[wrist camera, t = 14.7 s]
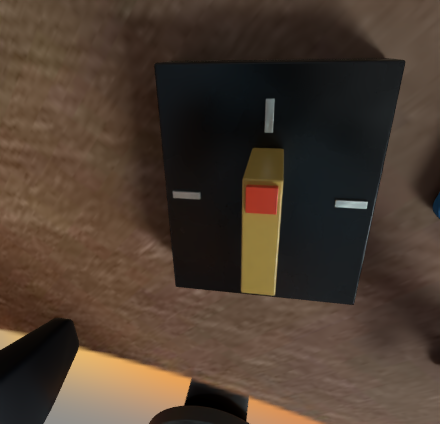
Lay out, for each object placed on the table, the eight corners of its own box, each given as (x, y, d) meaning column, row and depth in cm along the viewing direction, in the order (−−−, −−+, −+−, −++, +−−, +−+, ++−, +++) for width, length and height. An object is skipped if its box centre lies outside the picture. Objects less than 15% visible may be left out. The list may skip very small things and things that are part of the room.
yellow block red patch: (276, 244, 17) (274, 300, 13) (249, 242, 17) (240, 296, 13) (283, 148, 15) (283, 182, 11) (252, 147, 15) (241, 180, 11)
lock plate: (346, 277, 20) (354, 307, 18) (186, 262, 22) (174, 288, 19) (388, 58, 15) (407, 60, 12) (171, 61, 16) (152, 63, 14)
